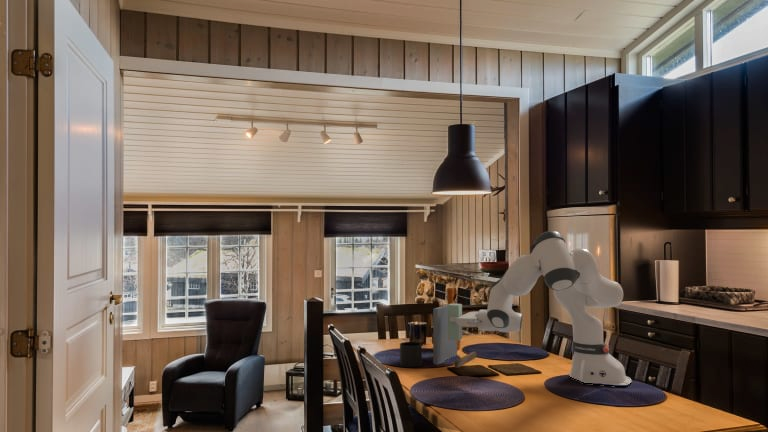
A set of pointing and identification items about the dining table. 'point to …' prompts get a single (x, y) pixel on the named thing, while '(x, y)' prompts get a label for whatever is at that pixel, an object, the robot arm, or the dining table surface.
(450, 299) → the amber bottle
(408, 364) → the mug
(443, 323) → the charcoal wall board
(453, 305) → the sage-green cabinet block
